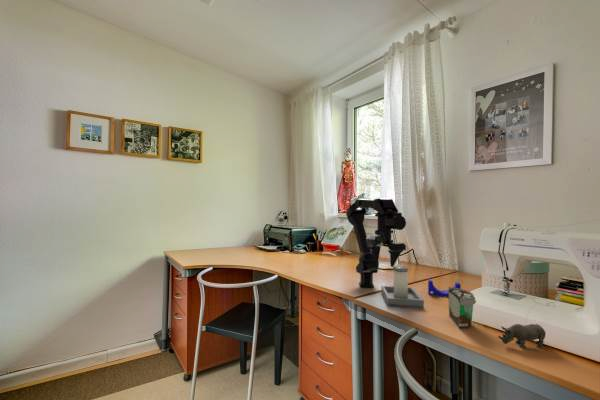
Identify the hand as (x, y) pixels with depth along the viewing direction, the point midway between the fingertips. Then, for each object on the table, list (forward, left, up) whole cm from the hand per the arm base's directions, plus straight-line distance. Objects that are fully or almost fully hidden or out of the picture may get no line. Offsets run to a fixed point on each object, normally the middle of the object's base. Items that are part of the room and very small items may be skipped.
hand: (384, 264), depth 119 cm
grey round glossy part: (+5, +6, -12) cm, 14 cm away
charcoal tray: (+5, +6, -13) cm, 15 cm away
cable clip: (-5, +26, -13) cm, 29 cm away
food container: (+24, +22, -13) cm, 35 cm away
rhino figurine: (+37, +32, -13) cm, 50 cm away
